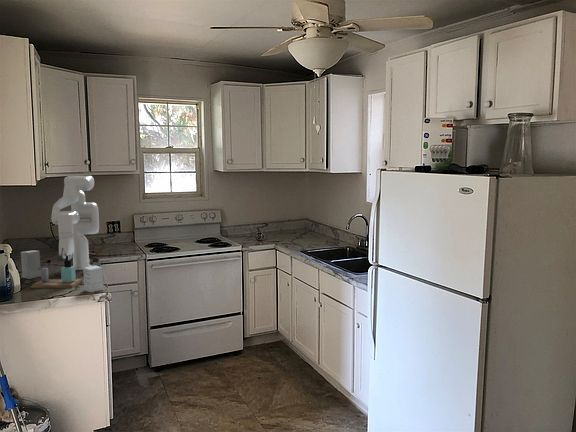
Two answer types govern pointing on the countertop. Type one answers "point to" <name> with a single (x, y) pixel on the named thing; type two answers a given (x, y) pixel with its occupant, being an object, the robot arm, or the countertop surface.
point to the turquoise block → (68, 273)
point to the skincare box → (30, 264)
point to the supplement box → (93, 278)
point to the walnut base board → (56, 284)
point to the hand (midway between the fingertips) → (68, 267)
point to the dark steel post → (44, 275)
